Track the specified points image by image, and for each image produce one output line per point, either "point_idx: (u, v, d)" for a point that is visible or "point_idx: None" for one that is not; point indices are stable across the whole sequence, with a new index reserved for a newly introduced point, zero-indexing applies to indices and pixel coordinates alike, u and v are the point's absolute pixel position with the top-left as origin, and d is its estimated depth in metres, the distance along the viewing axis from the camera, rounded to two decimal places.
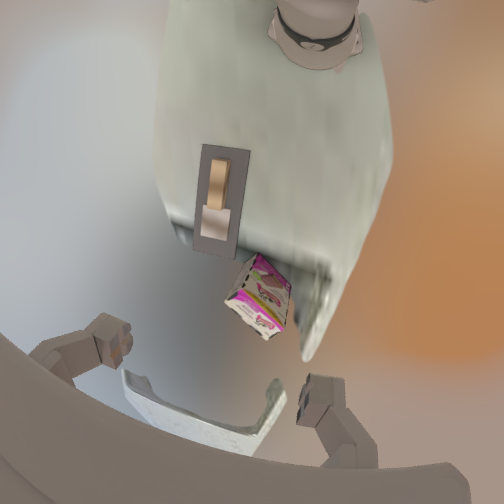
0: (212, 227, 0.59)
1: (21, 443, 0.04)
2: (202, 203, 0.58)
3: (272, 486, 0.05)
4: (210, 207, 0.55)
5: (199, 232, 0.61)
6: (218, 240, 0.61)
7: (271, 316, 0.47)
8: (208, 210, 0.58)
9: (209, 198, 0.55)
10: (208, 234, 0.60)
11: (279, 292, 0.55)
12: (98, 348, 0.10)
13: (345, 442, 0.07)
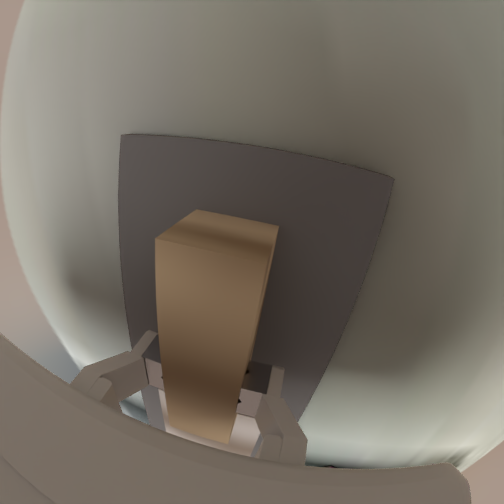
0: (201, 438, 0.15)
1: (21, 443, 0.04)
2: None
3: (272, 486, 0.05)
4: (184, 428, 0.11)
5: (164, 425, 0.17)
6: None
7: None
8: None
9: (174, 407, 0.10)
10: None
11: None
12: (147, 370, 0.10)
13: (275, 433, 0.08)
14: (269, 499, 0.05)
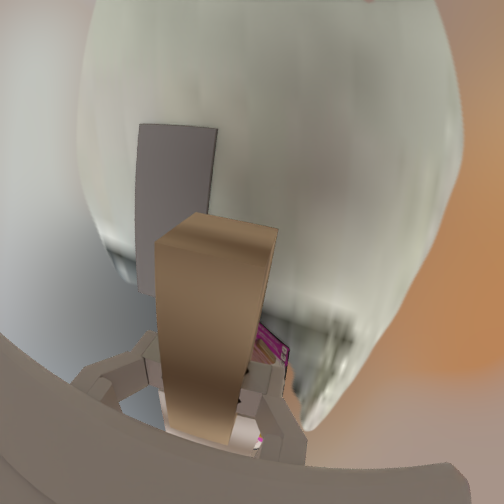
0: (201, 439, 0.15)
1: (21, 443, 0.04)
2: (143, 222, 0.34)
3: (272, 486, 0.05)
4: (184, 429, 0.11)
5: (144, 267, 0.37)
6: None
7: None
8: None
9: (174, 409, 0.10)
10: None
11: None
12: (147, 369, 0.10)
13: (275, 433, 0.08)
14: (269, 499, 0.05)
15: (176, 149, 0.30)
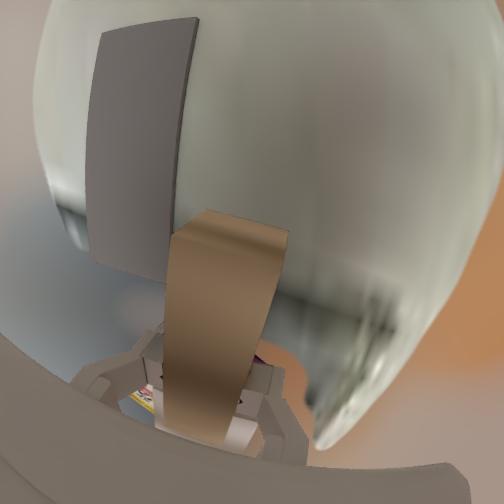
0: (191, 439, 0.15)
1: (21, 443, 0.04)
2: (95, 155, 0.22)
3: (272, 486, 0.05)
4: (179, 428, 0.11)
5: (96, 222, 0.24)
6: (131, 240, 0.24)
7: None
8: None
9: (171, 407, 0.10)
10: None
11: None
12: (146, 369, 0.10)
13: (277, 433, 0.08)
14: (269, 499, 0.05)
15: (142, 50, 0.17)
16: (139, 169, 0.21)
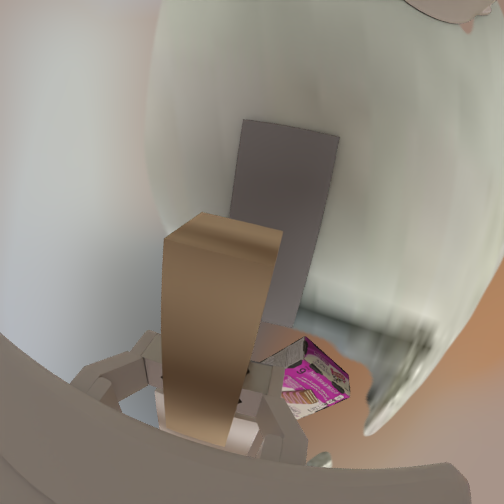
0: (195, 441, 0.15)
1: (21, 443, 0.04)
2: None
3: (272, 486, 0.05)
4: (181, 430, 0.11)
5: None
6: (267, 298, 0.34)
7: None
8: None
9: (172, 409, 0.10)
10: None
11: (297, 407, 0.36)
12: (147, 369, 0.10)
13: (276, 433, 0.08)
14: (269, 499, 0.05)
15: (291, 154, 0.27)
16: (283, 250, 0.31)
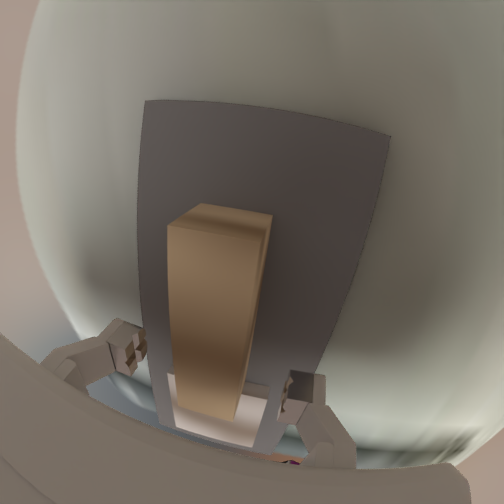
0: (207, 422, 0.16)
1: (21, 443, 0.04)
2: (165, 341, 0.15)
3: (272, 486, 0.05)
4: (192, 407, 0.12)
5: (170, 402, 0.18)
6: None
7: None
8: None
9: (182, 385, 0.12)
10: (199, 431, 0.17)
11: None
12: (113, 355, 0.10)
13: (324, 440, 0.08)
14: (269, 499, 0.05)
15: (262, 180, 0.10)
16: (251, 376, 0.15)
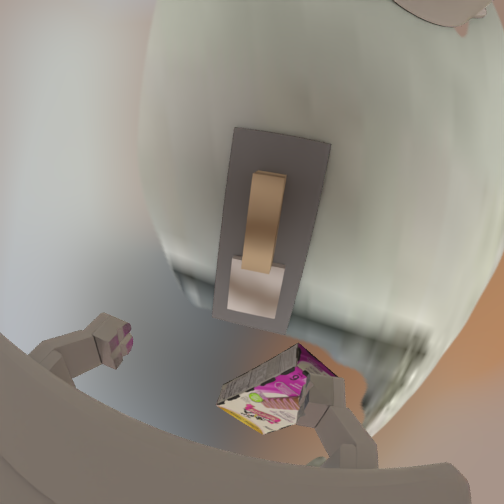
0: (249, 297, 0.33)
1: (21, 443, 0.04)
2: (232, 241, 0.32)
3: (272, 486, 0.05)
4: (248, 267, 0.29)
5: (225, 290, 0.34)
6: None
7: None
8: (242, 268, 0.32)
9: (246, 250, 0.28)
10: (242, 308, 0.34)
11: (291, 413, 0.36)
12: (98, 348, 0.10)
13: (345, 442, 0.07)
14: (269, 499, 0.05)
15: (282, 161, 0.27)
16: (276, 258, 0.31)
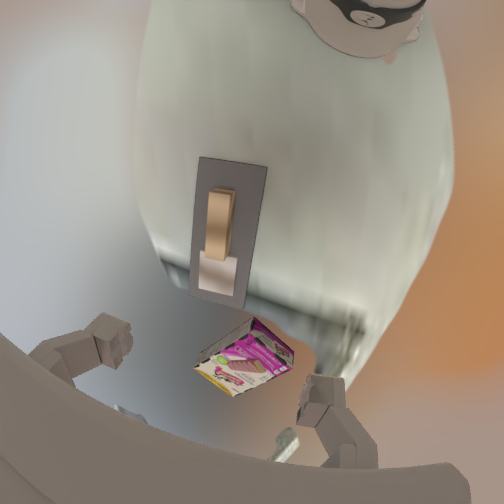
0: (213, 279, 0.45)
1: (21, 443, 0.04)
2: (200, 238, 0.44)
3: (272, 486, 0.05)
4: (209, 256, 0.41)
5: (197, 274, 0.46)
6: None
7: None
8: (207, 258, 0.44)
9: (207, 245, 0.40)
10: (209, 288, 0.46)
11: (251, 375, 0.48)
12: (98, 348, 0.10)
13: (345, 442, 0.07)
14: (269, 499, 0.05)
15: (232, 181, 0.39)
16: (231, 250, 0.43)
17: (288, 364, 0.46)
